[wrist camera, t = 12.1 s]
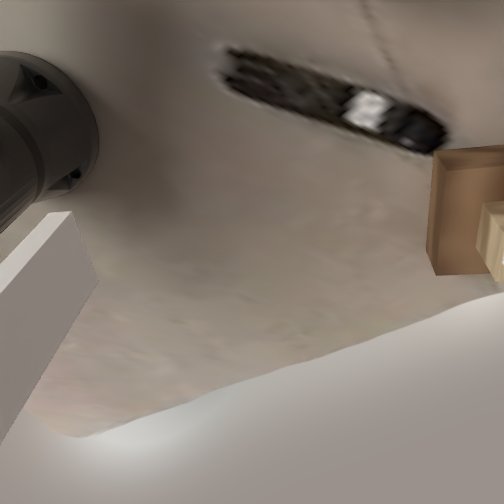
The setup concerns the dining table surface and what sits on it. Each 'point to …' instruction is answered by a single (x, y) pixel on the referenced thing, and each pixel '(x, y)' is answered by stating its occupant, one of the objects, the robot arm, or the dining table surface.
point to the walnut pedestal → (461, 206)
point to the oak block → (492, 238)
